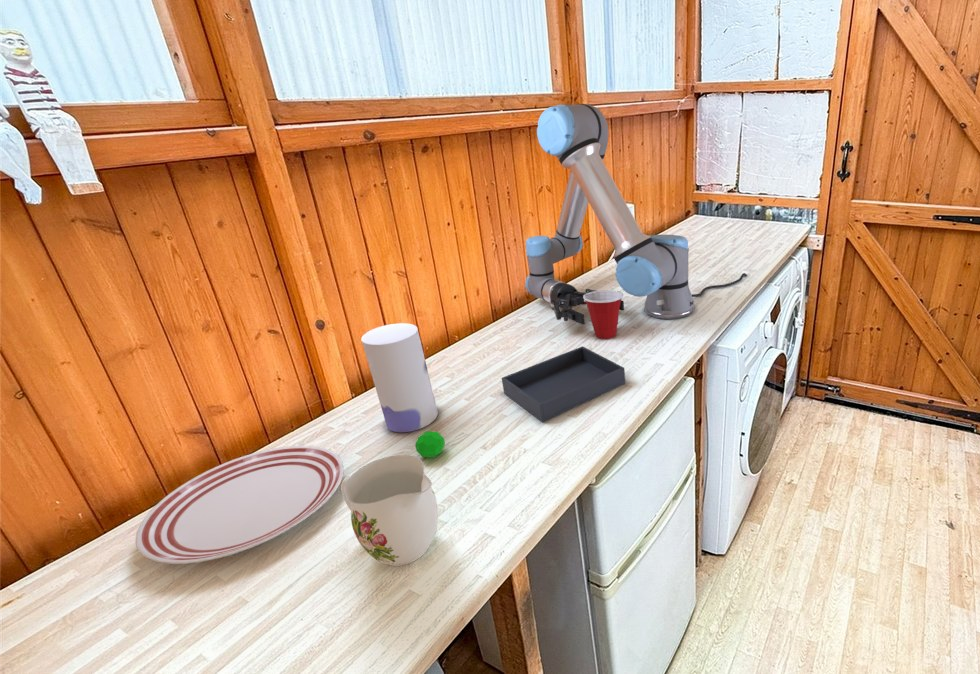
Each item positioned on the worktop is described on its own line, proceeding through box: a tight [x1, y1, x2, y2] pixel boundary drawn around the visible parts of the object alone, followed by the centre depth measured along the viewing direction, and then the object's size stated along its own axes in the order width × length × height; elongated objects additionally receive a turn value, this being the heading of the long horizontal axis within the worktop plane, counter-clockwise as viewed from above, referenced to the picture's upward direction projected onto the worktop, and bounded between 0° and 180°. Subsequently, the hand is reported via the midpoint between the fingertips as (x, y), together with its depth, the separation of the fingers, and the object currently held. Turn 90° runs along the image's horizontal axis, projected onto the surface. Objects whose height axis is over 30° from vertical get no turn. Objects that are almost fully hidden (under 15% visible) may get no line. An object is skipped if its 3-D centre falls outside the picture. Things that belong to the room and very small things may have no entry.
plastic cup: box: [583, 289, 624, 340], centre depth 142 cm, size 11×11×12 cm
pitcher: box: [340, 454, 439, 567], centre depth 75 cm, size 11×18×14 cm, turn 68°
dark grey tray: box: [501, 346, 626, 423], centre depth 117 cm, size 22×16×4 cm
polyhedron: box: [414, 430, 446, 459], centre depth 97 cm, size 5×5×5 cm
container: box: [360, 322, 439, 433], centre depth 105 cm, size 10×10×20 cm
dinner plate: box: [135, 445, 345, 565], centre depth 85 cm, size 27×27×3 cm
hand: (603, 312), depth 142 cm, fingers open, 13 cm apart
